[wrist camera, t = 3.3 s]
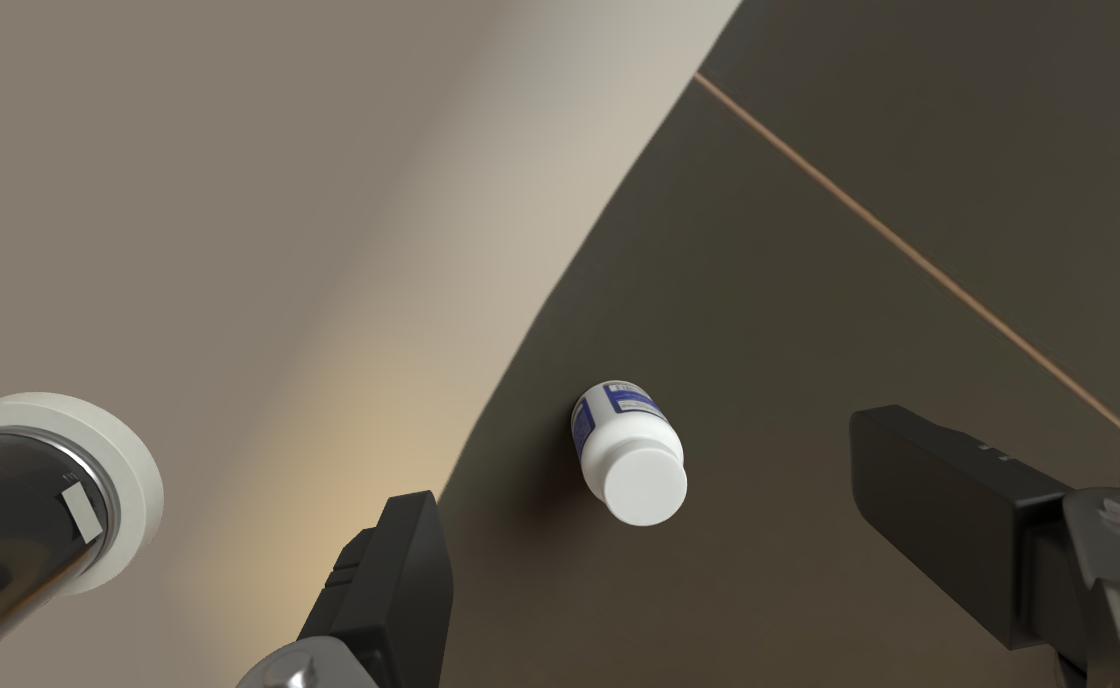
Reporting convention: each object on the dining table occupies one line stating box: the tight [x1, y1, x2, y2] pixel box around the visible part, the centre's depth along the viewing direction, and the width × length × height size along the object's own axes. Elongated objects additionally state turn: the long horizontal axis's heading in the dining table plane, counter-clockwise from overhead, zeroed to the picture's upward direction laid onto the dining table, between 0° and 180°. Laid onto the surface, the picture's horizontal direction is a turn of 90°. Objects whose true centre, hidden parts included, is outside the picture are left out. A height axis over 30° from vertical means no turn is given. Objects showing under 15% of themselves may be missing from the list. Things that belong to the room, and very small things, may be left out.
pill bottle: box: [571, 381, 687, 526], centre depth 31 cm, size 5×5×9 cm
